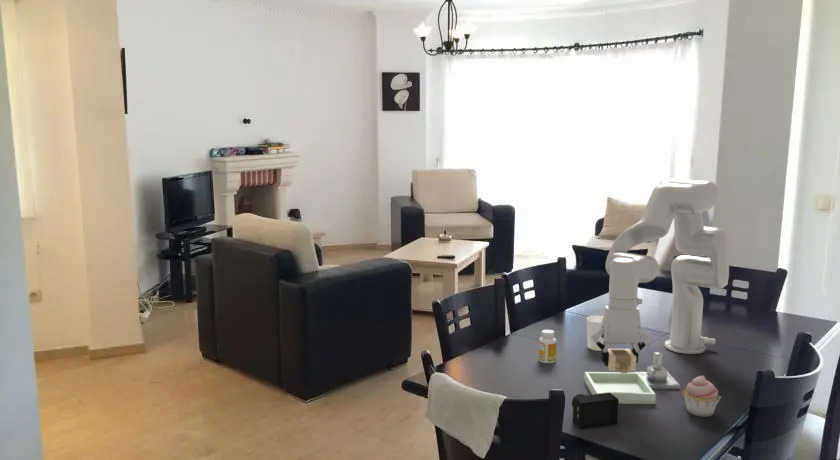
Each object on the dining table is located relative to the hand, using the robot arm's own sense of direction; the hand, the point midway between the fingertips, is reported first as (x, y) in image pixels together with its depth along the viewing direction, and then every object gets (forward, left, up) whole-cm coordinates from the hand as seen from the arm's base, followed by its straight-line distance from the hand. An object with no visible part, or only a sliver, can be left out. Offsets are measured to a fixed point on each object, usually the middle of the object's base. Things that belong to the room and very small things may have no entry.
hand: (619, 364), depth 184 cm
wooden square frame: (0, 0, -1) cm, 1 cm away
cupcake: (-18, +12, -8) cm, 24 cm away
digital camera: (+11, +19, -9) cm, 24 cm away
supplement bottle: (+16, -25, -8) cm, 30 cm away
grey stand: (-13, -8, -8) cm, 17 cm away
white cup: (-3, -38, -8) cm, 39 cm away
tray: (0, 0, -8) cm, 8 cm away
